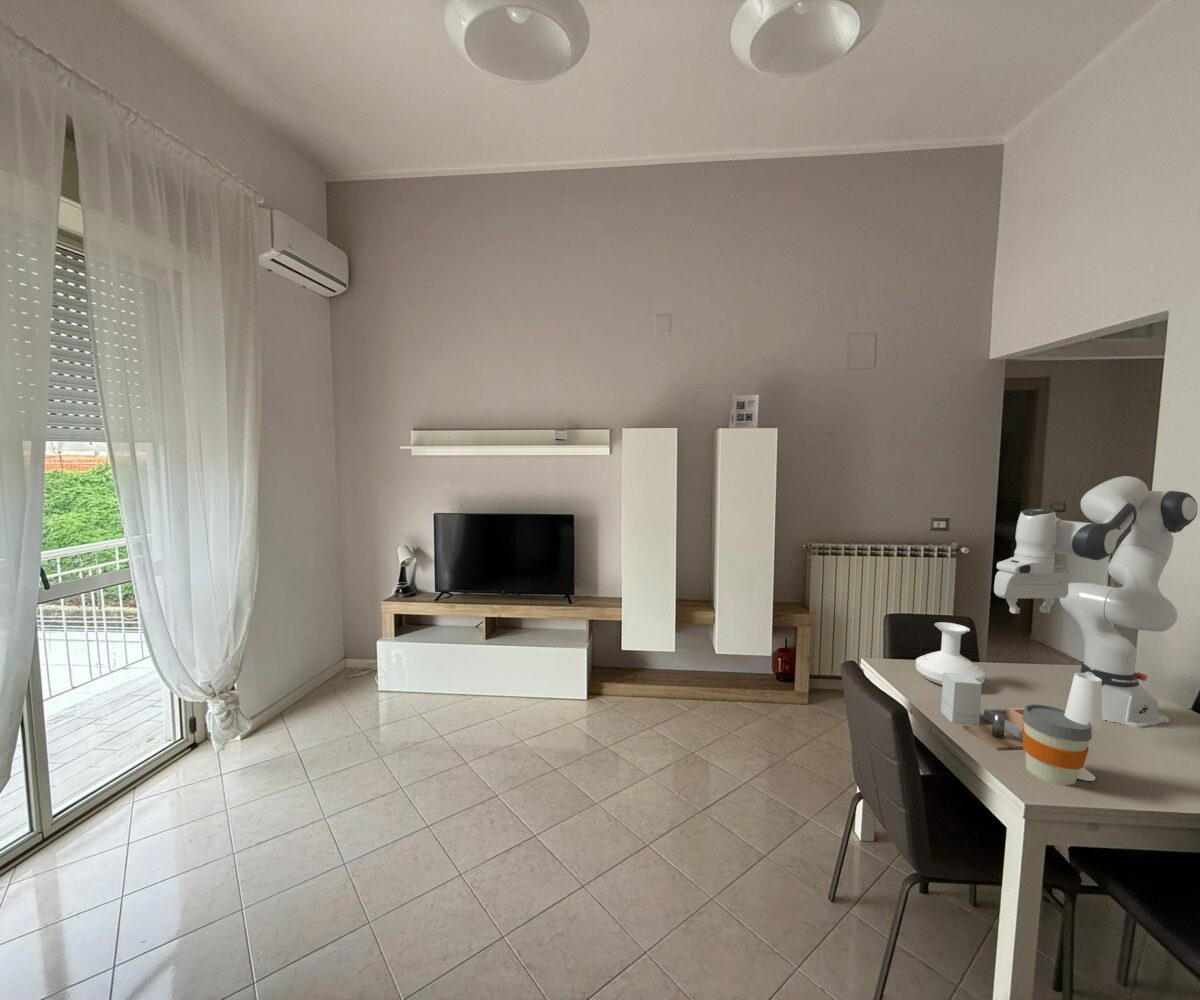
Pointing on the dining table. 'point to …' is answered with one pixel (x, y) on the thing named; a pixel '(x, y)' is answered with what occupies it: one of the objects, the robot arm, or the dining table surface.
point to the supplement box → (961, 698)
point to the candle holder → (948, 656)
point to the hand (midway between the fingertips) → (1029, 612)
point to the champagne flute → (1085, 707)
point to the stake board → (999, 744)
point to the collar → (1015, 716)
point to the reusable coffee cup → (1054, 744)
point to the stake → (998, 725)
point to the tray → (1008, 726)
